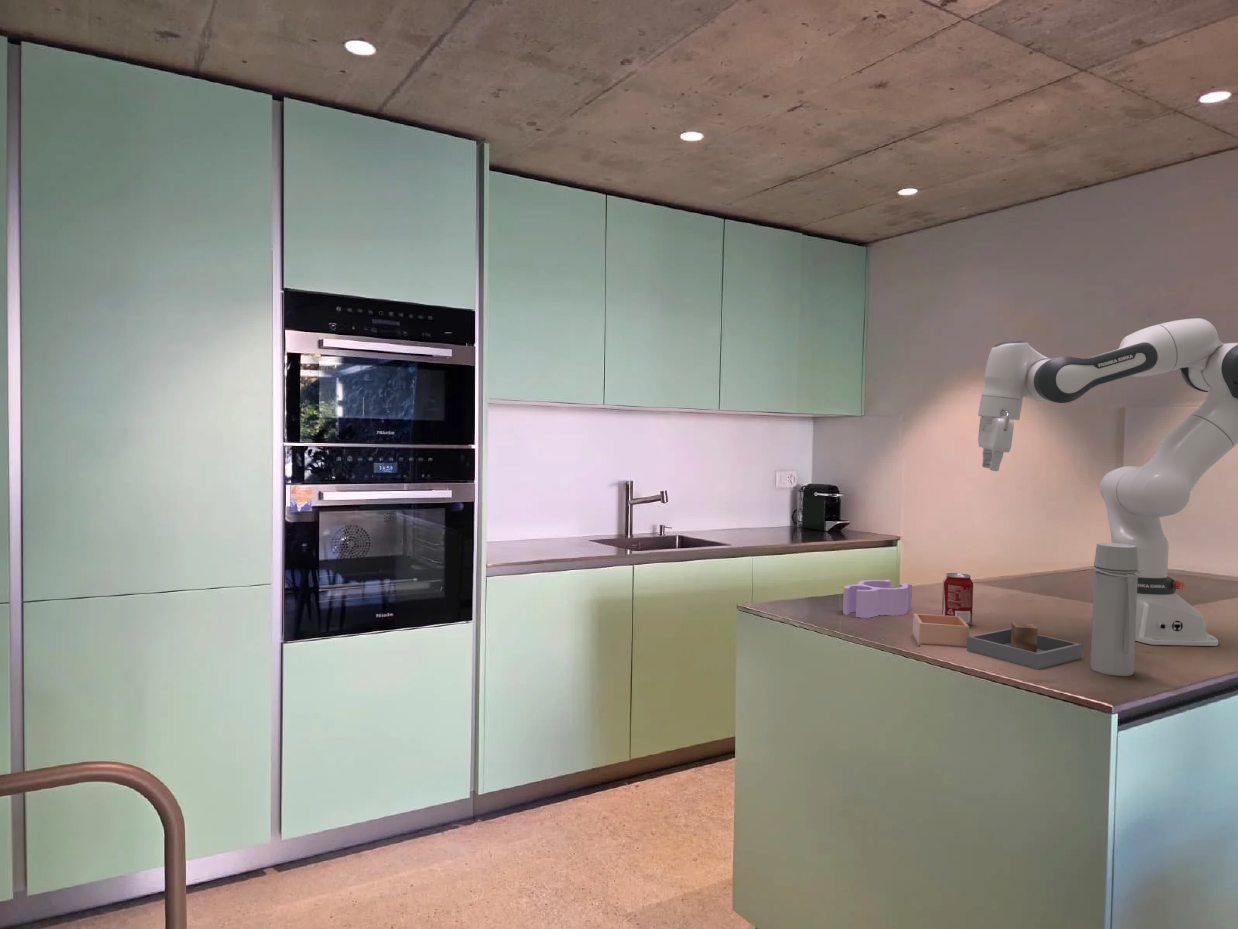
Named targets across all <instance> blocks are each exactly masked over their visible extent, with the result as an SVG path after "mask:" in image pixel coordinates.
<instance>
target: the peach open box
mask: <svg viewBox="0 0 1238 929" xmlns="http://www.w3.org/2000/svg"><path fill="white" fill-rule="evenodd" d="M912 614H913V616H912V617H913V620H912V637H913V638H914V640H915V642H916V644H917V646H918V647H921V645H930V646H931V645H932V646H946V647H957V648H958V647H959V648H961V647H962V648H967V637H968V636H970V625H967V623H966V622H965V621H964V620H963V619H962V618H961V617H960V616H946V615H942V614H930V613H929V614H928V613H912Z"/></svg>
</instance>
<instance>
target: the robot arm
mask: <svg viewBox="0 0 1238 929" xmlns="http://www.w3.org/2000/svg"><path fill="white" fill-rule="evenodd" d="M1217 331H1218V330H1217V329H1216V327H1215V326H1214V325H1213V324H1212V322H1210V321H1208V320H1207V319H1205V318H1200V317H1198V318H1195V317H1194V318H1193V317H1192V318H1185V319H1178V320H1170V321H1168V322H1162V323H1158V324H1154V325H1151V326H1148V327H1145V328H1142V329H1139V330H1137V331H1134V332H1132V333H1130V334H1128V335H1126V336H1125V337H1124V338H1122V340H1121V342H1120V344H1119V347H1118V348H1117V349H1113V350H1111V351H1107V352H1104V353H1100V354H1097V355H1094V356H1090V357H1086V358H1084V357H1083V358H1080V357H1075V356H1059V357H1054V358H1050V357H1047V356H1046V355H1043V354H1041V353H1040V352H1038V351H1037V350H1036V349H1034V348H1033V347H1032V346H1031V345H1030V344H1029V342H1027V341H1023V340H1016V341H1014V340H1013V341H1004V342H999V343H997V344H995V345H994V346H992V348H991V349H990V352H989V354H988V359H987V361H986V365H985V371H984V387H983V389H982V390H983V391H982V392H981V395H980V401H979V407H978V414H977V415H978V417H980V418H979V423H978V424H979V425H978V438H977V443H978V444H977V445H978V447H979V448H981V449H982V463H981V467H983V468H986V469H989V470H990V471H993V472H999V471H1000V465H1001V463H1002V459H1003V458H1004V453H1010V451H1011V449H1012V443H1013V436H1014V430H1015V429H1014V427H1015V421H1019V420H1020V419H1021V412H1022V406H1023V400H1024V397H1026V398H1029V399H1031V400H1033V401H1037V402H1052V403H1057V404H1067V403H1071V402H1074V401H1076V400H1078V399H1079V398H1081V397H1082V396H1083V395H1085V394H1086V393H1087V392H1088V391H1089V390H1091V389H1093V388H1095V387H1096V386H1097V387H1098V386H1100V385H1102V384H1105V383H1109V382H1113V381H1116V380H1118V379H1119V380H1120V379H1123V378H1127V377H1135V378H1141V377H1151V376H1155V375H1161V374H1165V373H1170V372H1172V371H1176V370H1180V373H1181V377H1182V379H1183V381H1184V382H1185V383H1186V384H1187V385H1188V386H1189V387H1190V388H1191V389H1194V390H1197V391H1199V392H1203V393H1207V395H1206V397H1205V399H1204V401H1203V402H1202V404H1201V405H1200V406H1199V407H1198V408H1196V410H1194V411H1193V412H1191V413H1190V414H1189V415H1188V416H1186V418H1184V419H1183V420H1182V421H1181V422H1180V423H1178V425H1177V426H1176V427H1174V428H1173V429H1172V430H1171V431H1170V432H1169V433H1167V434H1166V435H1165V436H1164V437H1163V438H1162V439H1161V441H1160V443H1159V446H1158V449H1157V450H1156V452H1155V453H1154V454H1153V456H1152V457H1151V458H1150V459H1149V461H1147V462H1146V463H1144V464H1143V465H1141V466H1132V465H1131V466H1130V465H1128V466H1126V465H1125V466H1121V467H1119V468H1115V469H1113V470H1110V471H1108V472H1107V473H1106V474H1105V475H1104V476H1103V477H1102V479H1101V481H1100V484H1099V492H1100V495H1101V498H1102V499H1103V501H1104V503H1105V504H1104V505H1105V509H1106V513H1107V519H1108V523H1109V530H1110V537H1111V543H1118V544H1128V545H1134V546H1137V558H1138V569H1137V570H1138V571H1140V572H1141V573H1142V575H1141V576H1139V577H1138V582H1137V606H1136V631H1135V642H1140V643H1142V644H1148V645H1156V646H1162V645H1163V646H1200V647H1202V646H1203V647H1205V646H1206V647H1217V646H1218V645H1219V640H1218V638H1216V637H1215V636H1214V635H1212V634H1209V633H1208V632H1207V625H1206V621H1205V617H1204V616H1203V614H1202V613H1201V612H1200V611H1199V610H1198V609H1196V607H1194V606H1192V605H1191V604H1190V603H1189V602H1187V601H1186V600H1185V599H1184V598H1182V597H1181V596H1179V595H1178V594H1177V593H1176V591H1178V590H1179V591H1183V590H1184V589H1185V588H1186V583H1185V582H1184V581H1183V580H1179V579H1172V577H1169V576H1168V569H1169V541H1168V538H1167V537H1166V535H1165V532H1164V531H1163V528H1162V525H1161V520H1160V518H1164V517H1168V516H1173V515H1176V514H1178V513H1180V512H1182V511H1183V509H1185V508H1186V507H1187V505H1188V503H1189V502H1190V498H1191V491H1192V490H1193V489H1194V487H1195V486H1196V484H1198V482H1199V481H1200V479H1201V478H1202V476H1204V474H1205V473H1206V472H1207V471H1208V470H1209V469H1211V468H1212V467H1213V466H1214V465H1215V464H1216V463H1218V462H1219V460H1221V459H1222V458H1223V457H1224V456H1226V454H1227V453H1229V452H1230V451H1231V450H1232V449H1233V448H1234V447H1236V445H1238V342H1229V343H1228V342H1227V343H1224V342H1222V341H1221V340H1220V339H1219V334H1218V332H1217ZM1014 420H1015V421H1014ZM1134 574H1135V575H1139V573H1138V572H1137V573H1134Z"/></svg>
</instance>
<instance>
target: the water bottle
mask: <svg viewBox="0 0 1238 929" xmlns="http://www.w3.org/2000/svg"><path fill="white" fill-rule="evenodd" d="M1095 547H1096V548H1095V553H1094V554H1095V555H1094V560H1093V561H1094V562H1093V567H1092V568H1093V569H1094V570H1095V571H1094V572H1093V593H1092V594H1093V595H1092V597H1093V600H1092V618H1091V620H1092V621H1091V622H1092V624H1091V646H1090V668H1091V670H1093V671H1094V672H1097V673H1100V674H1103V675H1108V676H1113V677H1114V676H1116V677H1131V676H1133V674H1134V673H1135V656H1136V655H1135V651H1136V641H1135V631H1136V606H1137V582H1138V577H1139V576H1141V575H1142V573H1141V572H1140V571H1138V570H1137V569H1138V558H1137V546H1134V545H1128V544H1118V543H1112V542H1097V543H1096V546H1095ZM1137 572H1138V573H1139V575H1135V574H1134V573H1137Z"/></svg>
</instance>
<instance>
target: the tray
mask: <svg viewBox="0 0 1238 929" xmlns="http://www.w3.org/2000/svg"><path fill="white" fill-rule="evenodd" d="M1082 645H1083V644H1082V643H1079V642H1078V643H1077V642H1074V641H1070V640H1065V639H1060V638H1056V637H1051V636H1047V635H1044V634H1043V635H1041V634H1038V633H1037V653H1035V652H1031V651H1027V650H1023V649H1019V648H1015V647H1011V627H1009V628H1005V629H998V630H995V631H989V632H985V633H980V634H974V635H969V636H968V637H967V647H966V651H967V652H971V653H973V654H974V653H975V654H978V655H982V656H986V657H990V658H994V659H998V660H1001V661H1005V662H1009V663H1012V664H1016V665H1020V666H1024V667H1028V668H1032V669H1036V670H1041V669H1045V668H1049V667H1050V668H1051V667H1053V666H1057V665H1062V664H1065V663H1070V662H1073V661H1077V660H1081V659H1082V650H1083V649H1082V648H1083V646H1082Z"/></svg>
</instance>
